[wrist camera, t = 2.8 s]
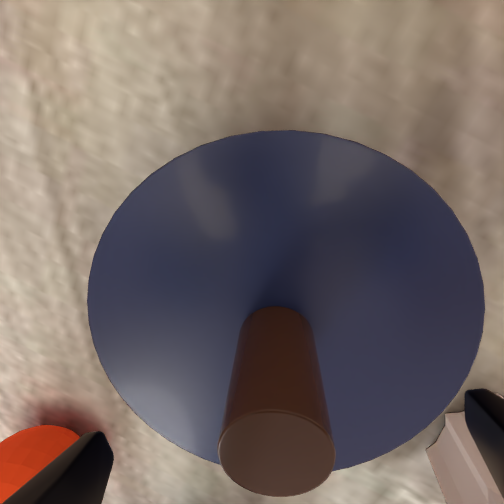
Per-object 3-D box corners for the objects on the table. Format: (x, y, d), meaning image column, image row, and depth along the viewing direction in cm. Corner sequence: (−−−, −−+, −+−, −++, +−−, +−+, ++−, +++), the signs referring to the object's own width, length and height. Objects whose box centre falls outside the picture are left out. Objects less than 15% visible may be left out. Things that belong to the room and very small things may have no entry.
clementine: (138, 434, 23) (80, 558, 16) (106, 489, 25) (44, 617, 18) (34, 386, 22) (-74, 494, 15) (10, 447, 24) (-92, 565, 17)
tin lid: (467, 436, 13) (589, 627, 8) (164, 463, 15) (105, 632, 10) (465, 81, 9) (720, 0, 4) (44, 182, 11) (-164, 219, 6)
